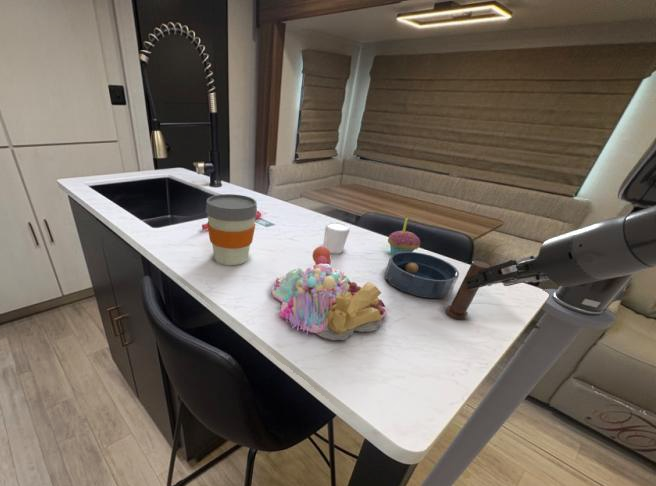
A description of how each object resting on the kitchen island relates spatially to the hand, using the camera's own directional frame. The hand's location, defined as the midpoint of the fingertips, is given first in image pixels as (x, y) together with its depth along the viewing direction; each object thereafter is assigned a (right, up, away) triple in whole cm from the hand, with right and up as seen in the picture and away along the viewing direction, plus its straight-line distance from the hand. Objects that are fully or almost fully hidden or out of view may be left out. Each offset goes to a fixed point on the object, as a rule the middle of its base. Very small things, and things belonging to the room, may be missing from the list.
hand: (485, 282), depth 57 cm
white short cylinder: (-20, +12, +34) cm, 41 cm away
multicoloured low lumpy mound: (-28, -4, +9) cm, 30 cm away
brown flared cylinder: (0, -6, +9) cm, 11 cm away
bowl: (-3, +1, +20) cm, 20 cm away
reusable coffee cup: (-49, +8, +26) cm, 56 cm away
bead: (-3, +5, +22) cm, 22 cm away
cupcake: (-1, +10, +33) cm, 35 cm away
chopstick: (-49, +25, +43) cm, 70 cm away
